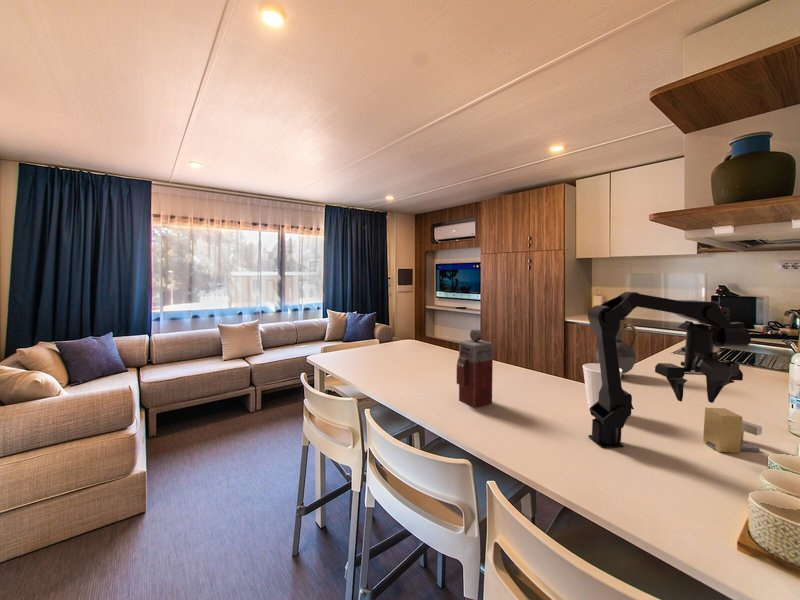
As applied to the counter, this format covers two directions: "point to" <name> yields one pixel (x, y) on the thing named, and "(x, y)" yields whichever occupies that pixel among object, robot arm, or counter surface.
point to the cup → (593, 382)
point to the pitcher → (624, 349)
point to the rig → (747, 428)
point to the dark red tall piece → (475, 371)
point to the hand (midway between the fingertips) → (695, 401)
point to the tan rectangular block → (723, 429)
